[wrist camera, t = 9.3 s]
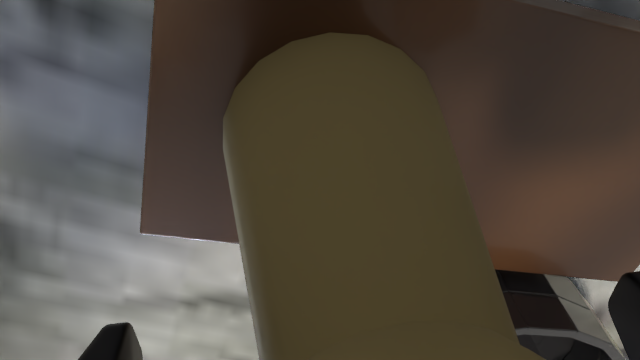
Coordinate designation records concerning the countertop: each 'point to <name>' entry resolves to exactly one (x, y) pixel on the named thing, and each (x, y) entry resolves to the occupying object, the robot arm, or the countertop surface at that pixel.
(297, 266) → the olive gourd
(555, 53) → the serving board
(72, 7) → the countertop surface
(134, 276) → the countertop surface
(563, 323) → the pan
